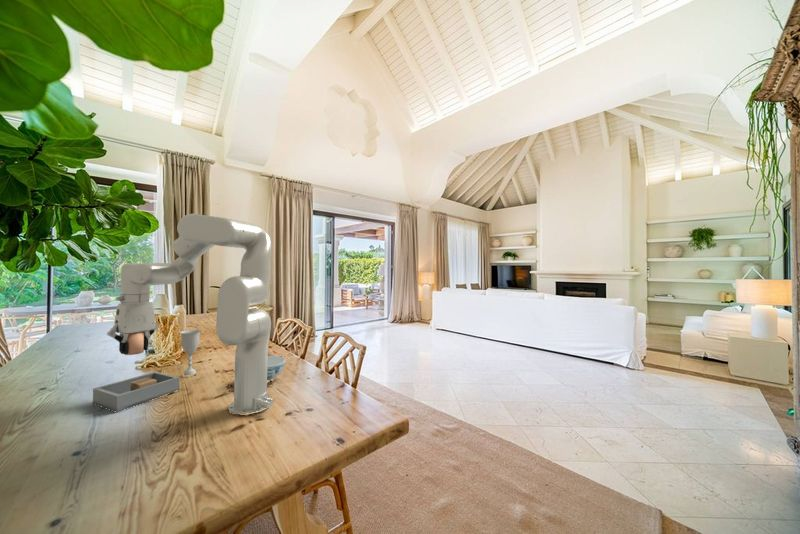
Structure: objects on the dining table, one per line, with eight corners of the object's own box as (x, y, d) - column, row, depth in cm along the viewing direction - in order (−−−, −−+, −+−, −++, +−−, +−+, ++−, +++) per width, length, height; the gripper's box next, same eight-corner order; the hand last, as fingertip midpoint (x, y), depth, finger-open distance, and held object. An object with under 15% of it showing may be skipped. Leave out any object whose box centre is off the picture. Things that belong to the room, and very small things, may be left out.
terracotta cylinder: (146, 352, 107) (147, 332, 107) (129, 355, 103) (130, 334, 103) (138, 350, 109) (138, 330, 109) (121, 353, 104) (121, 333, 104)
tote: (179, 391, 110) (179, 377, 110) (116, 412, 94) (117, 396, 94) (155, 384, 116) (155, 371, 116) (92, 403, 99) (93, 388, 99)
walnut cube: (156, 394, 105) (156, 379, 105) (139, 400, 100) (139, 384, 100) (147, 391, 107) (147, 377, 107) (130, 397, 102) (130, 382, 102)
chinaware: (275, 388, 114) (276, 367, 114) (236, 387, 115) (236, 366, 115) (290, 374, 129) (291, 356, 129) (255, 373, 130) (256, 355, 130)
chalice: (182, 379, 121) (183, 334, 121) (176, 375, 125) (177, 331, 126) (203, 374, 127) (203, 331, 127) (196, 371, 131) (197, 329, 131)
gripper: (110, 301, 97) (108, 359, 96) (168, 297, 112) (167, 347, 112) (97, 300, 99) (96, 356, 99) (156, 296, 115) (155, 344, 115)
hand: (134, 351), depth 106 cm, fingers closed on terracotta cylinder, 4 cm apart
